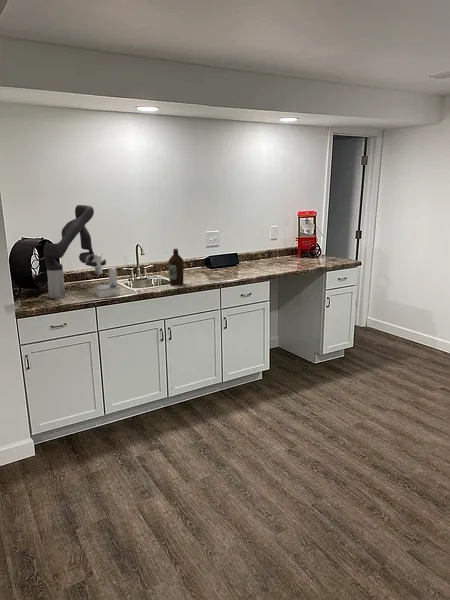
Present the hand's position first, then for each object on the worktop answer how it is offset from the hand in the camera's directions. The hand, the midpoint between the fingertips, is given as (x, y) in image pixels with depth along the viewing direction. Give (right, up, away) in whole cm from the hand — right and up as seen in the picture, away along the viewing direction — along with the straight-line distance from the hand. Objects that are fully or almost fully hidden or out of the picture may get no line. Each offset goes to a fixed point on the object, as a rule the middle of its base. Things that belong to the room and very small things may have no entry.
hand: (99, 264), depth 289 cm
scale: (+5, -19, +1) cm, 20 cm away
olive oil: (+46, -12, +30) cm, 56 cm away
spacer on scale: (+9, -14, -1) cm, 17 cm away
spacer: (-1, -6, +4) cm, 7 cm away
